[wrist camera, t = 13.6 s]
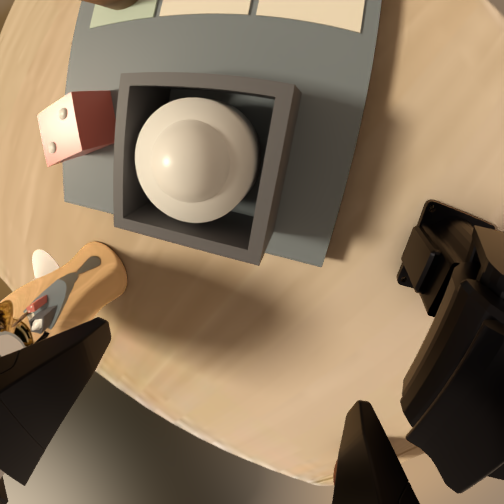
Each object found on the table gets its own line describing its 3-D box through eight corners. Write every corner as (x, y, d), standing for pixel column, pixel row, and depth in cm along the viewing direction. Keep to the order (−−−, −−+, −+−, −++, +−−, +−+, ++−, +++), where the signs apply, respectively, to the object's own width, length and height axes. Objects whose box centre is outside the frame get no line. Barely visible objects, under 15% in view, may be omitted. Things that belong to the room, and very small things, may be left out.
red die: (110, 90, 17) (70, 91, 13) (120, 141, 18) (81, 150, 15) (74, 109, 18) (36, 114, 14) (84, 155, 19) (46, 167, 16)
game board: (381, -36, 10) (398, -79, 5) (322, 256, 20) (319, 308, 15) (103, -31, 13) (57, -47, 8) (75, 196, 23) (28, 220, 18)
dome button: (273, 107, 14) (255, 104, 10) (253, 217, 17) (232, 249, 13) (166, 95, 15) (121, 94, 11) (157, 195, 18) (116, 219, 14)
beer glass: (69, 256, 27) (-32, 340, 14) (99, 223, 24) (-32, 317, 11) (109, 307, 28) (21, 406, 15) (144, 284, 25) (38, 405, 12)
